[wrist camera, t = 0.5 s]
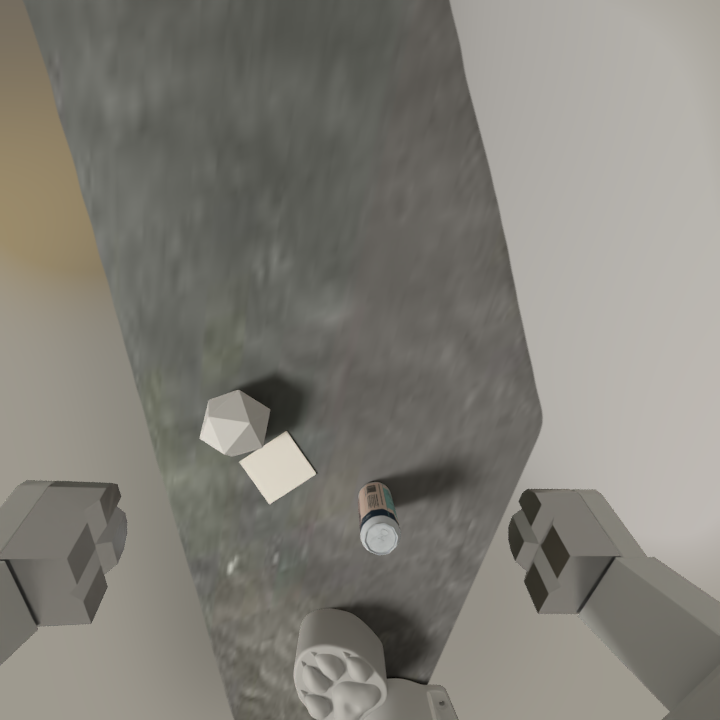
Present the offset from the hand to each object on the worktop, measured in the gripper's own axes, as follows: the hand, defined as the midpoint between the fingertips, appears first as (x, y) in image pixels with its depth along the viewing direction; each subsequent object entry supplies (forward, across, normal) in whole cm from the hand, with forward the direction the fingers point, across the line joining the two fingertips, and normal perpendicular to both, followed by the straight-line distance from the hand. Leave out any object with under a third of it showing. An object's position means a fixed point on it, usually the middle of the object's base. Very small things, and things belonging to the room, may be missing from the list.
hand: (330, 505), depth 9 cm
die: (+43, -9, -32) cm, 54 cm away
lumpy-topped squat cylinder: (+28, +6, -62) cm, 68 cm away
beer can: (+37, +10, -41) cm, 56 cm away
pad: (+39, -4, -38) cm, 55 cm away
